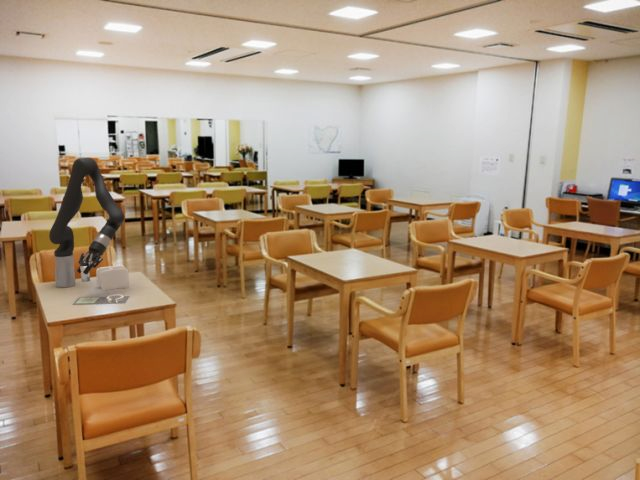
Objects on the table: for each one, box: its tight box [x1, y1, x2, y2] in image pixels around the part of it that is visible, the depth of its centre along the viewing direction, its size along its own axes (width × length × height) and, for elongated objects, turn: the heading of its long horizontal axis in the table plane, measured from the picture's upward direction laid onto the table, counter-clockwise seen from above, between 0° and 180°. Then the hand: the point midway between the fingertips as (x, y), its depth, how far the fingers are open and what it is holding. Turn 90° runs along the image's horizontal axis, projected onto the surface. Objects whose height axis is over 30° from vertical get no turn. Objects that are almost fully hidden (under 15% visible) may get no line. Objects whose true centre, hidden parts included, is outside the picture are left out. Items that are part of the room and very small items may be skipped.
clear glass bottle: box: [79, 260, 91, 283], centre depth 267 cm, size 4×4×10 cm
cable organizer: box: [95, 264, 130, 291], centre depth 294 cm, size 15×11×12 cm
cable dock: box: [71, 294, 131, 306], centre depth 270 cm, size 25×12×3 cm, turn 97°
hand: (81, 272), depth 265 cm, fingers closed on clear glass bottle, 4 cm apart
